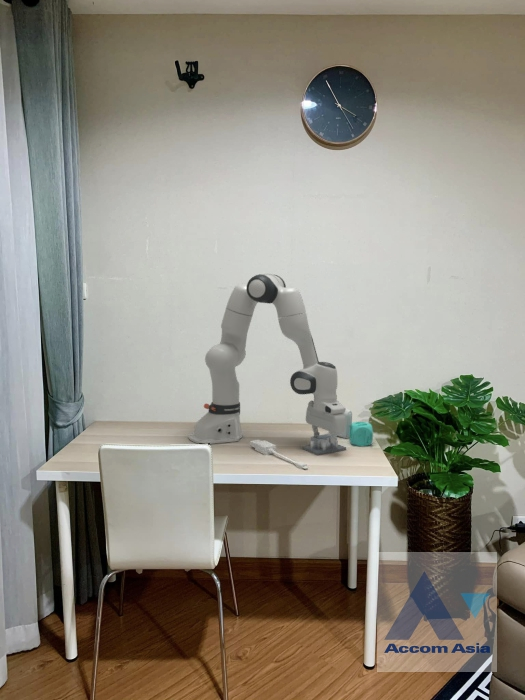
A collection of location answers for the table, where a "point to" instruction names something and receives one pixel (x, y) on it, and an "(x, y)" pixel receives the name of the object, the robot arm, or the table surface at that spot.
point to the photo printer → (346, 424)
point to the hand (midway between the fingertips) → (324, 439)
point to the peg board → (323, 448)
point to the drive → (320, 439)
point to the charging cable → (273, 451)
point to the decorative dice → (361, 434)
